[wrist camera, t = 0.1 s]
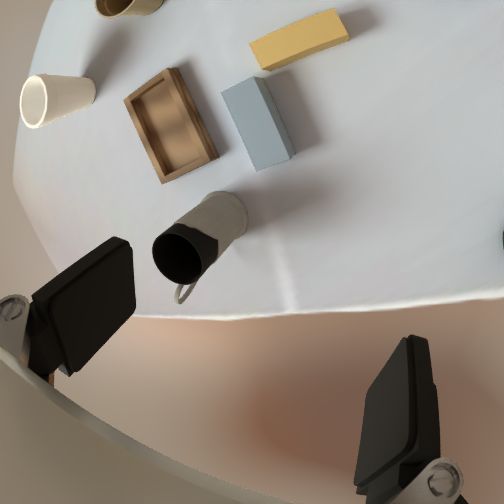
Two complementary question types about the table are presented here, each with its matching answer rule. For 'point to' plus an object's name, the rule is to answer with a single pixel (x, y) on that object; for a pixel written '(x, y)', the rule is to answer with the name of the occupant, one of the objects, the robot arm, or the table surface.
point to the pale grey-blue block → (258, 123)
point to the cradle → (170, 126)
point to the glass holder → (199, 239)
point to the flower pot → (126, 7)
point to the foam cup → (54, 98)
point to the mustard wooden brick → (299, 40)
